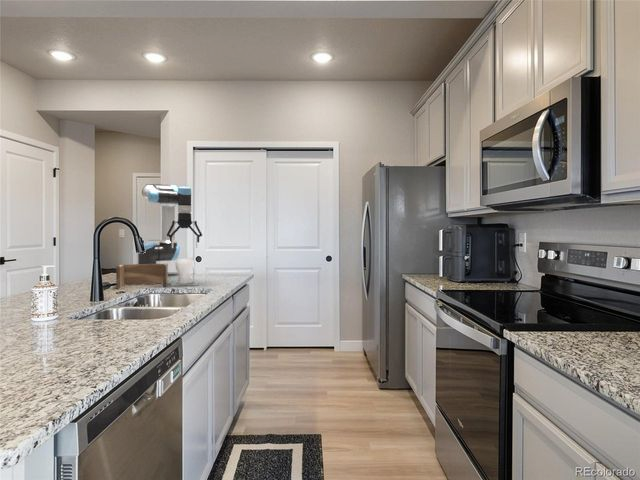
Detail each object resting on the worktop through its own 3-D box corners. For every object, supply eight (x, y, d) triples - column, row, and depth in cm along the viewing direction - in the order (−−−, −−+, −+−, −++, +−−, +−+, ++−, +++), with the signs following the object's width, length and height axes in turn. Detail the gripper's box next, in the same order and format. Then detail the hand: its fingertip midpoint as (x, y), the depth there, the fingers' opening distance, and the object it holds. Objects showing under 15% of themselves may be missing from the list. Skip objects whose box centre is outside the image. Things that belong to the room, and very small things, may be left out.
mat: (172, 283, 231) (172, 282, 231) (197, 282, 236) (197, 281, 236) (171, 286, 217) (171, 285, 217) (198, 285, 222) (198, 284, 222)
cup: (190, 284, 221) (190, 259, 220) (172, 284, 221) (172, 259, 221) (196, 282, 232) (196, 257, 231) (179, 281, 232) (179, 257, 231)
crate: (121, 284, 224) (121, 263, 223) (167, 282, 232) (167, 262, 232) (116, 288, 208) (116, 266, 207) (166, 286, 216) (166, 264, 216)
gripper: (161, 212, 217) (161, 248, 218) (206, 213, 226) (206, 248, 227) (162, 212, 225) (162, 247, 225) (206, 213, 233) (205, 247, 234)
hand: (184, 248), depth 226 cm, fingers open, 13 cm apart
